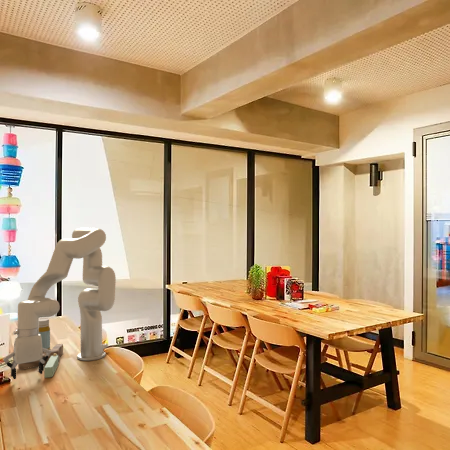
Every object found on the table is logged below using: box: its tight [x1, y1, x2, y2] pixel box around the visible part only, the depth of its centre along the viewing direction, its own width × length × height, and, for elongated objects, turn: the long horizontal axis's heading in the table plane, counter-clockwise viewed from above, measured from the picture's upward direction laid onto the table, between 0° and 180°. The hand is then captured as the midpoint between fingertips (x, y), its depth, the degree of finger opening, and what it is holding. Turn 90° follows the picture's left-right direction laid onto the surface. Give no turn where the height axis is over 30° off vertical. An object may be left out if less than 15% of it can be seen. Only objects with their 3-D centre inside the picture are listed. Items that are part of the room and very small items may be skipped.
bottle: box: [38, 317, 51, 350], centre depth 202 cm, size 7×7×15 cm
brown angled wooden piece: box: [17, 343, 64, 371], centre depth 185 cm, size 25×11×5 cm, turn 158°
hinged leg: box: [43, 353, 59, 379], centre depth 173 cm, size 16×3×5 cm, turn 13°
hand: (27, 375), depth 163 cm, fingers open, 9 cm apart
